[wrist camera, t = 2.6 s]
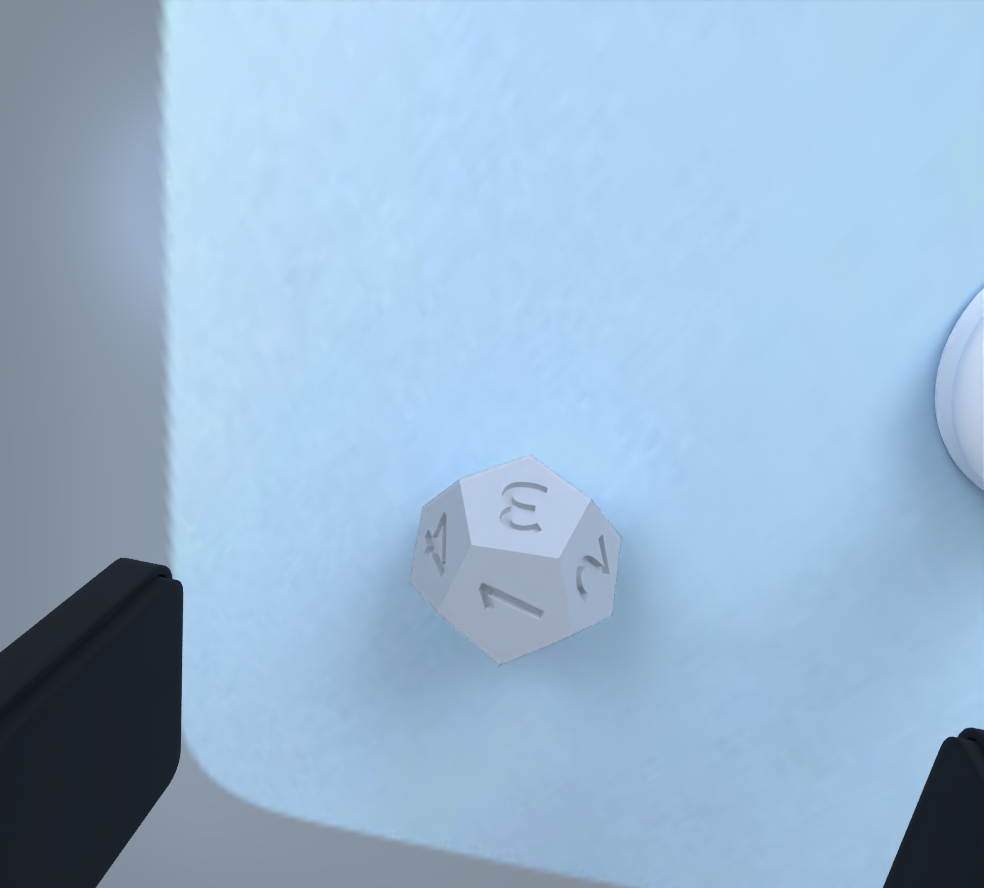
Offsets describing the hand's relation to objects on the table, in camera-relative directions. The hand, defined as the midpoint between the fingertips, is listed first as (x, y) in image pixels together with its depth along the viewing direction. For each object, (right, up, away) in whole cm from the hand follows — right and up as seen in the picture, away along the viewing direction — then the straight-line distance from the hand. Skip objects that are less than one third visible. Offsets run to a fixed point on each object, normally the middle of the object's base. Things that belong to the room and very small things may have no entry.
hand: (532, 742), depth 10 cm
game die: (0, +2, +6) cm, 6 cm away
